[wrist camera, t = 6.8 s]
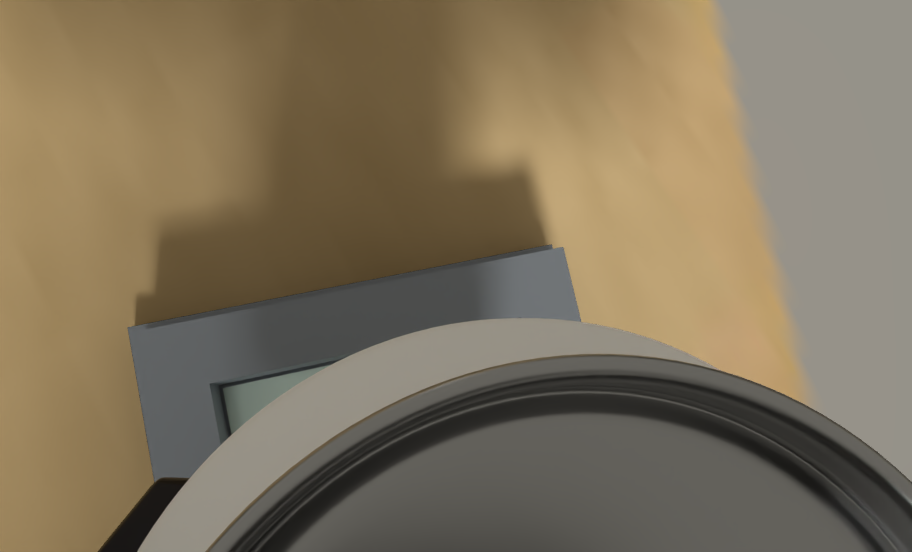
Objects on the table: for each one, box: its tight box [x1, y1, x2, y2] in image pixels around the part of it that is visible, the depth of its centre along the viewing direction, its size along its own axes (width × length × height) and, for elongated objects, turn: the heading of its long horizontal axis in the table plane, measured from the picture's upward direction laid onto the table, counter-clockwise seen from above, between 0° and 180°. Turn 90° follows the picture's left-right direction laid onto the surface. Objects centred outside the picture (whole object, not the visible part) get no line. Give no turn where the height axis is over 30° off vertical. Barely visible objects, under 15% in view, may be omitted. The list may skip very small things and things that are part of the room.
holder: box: [128, 244, 581, 482], centre depth 21 cm, size 12×12×3 cm
